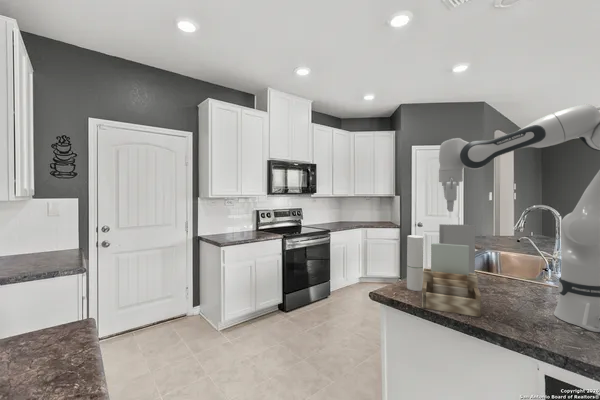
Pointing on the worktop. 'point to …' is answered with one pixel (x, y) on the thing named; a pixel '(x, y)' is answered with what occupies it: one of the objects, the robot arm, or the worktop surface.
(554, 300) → the worktop surface
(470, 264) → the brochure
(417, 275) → the cylindrical container
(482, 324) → the worktop surface
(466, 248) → the grey green flat block
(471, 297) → the box
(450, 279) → the offcut boards
